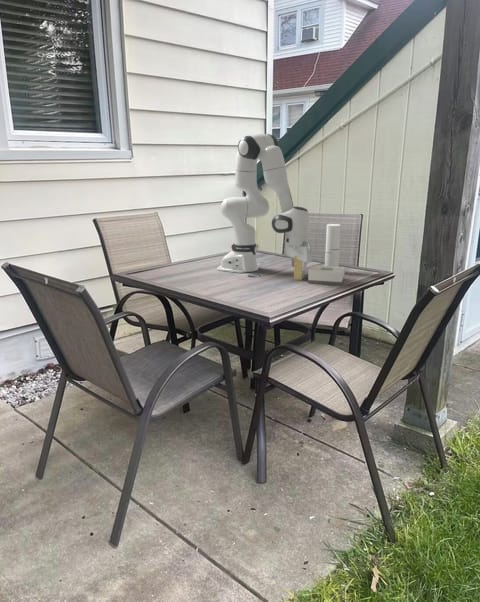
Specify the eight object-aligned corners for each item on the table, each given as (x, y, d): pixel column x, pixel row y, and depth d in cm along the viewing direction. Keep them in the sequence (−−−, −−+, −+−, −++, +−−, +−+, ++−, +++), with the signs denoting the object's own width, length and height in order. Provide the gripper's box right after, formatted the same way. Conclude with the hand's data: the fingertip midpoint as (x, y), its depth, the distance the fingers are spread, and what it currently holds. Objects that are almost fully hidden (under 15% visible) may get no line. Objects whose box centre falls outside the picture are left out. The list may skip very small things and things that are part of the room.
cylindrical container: (338, 273, 250) (340, 225, 243) (324, 273, 252) (326, 225, 244) (338, 270, 257) (340, 224, 250) (324, 270, 258) (326, 223, 251)
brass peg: (293, 279, 239) (294, 256, 235) (295, 277, 242) (295, 254, 239) (301, 280, 238) (302, 256, 234) (303, 278, 241) (303, 255, 238)
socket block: (308, 282, 232) (308, 270, 231) (312, 276, 244) (312, 265, 243) (341, 285, 228) (342, 272, 226) (344, 278, 240) (344, 267, 238)
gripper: (316, 243, 227) (315, 271, 231) (294, 237, 245) (293, 263, 248) (305, 244, 224) (304, 273, 228) (283, 238, 242) (283, 264, 246)
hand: (298, 268), depth 238 cm, fingers open, 8 cm apart
